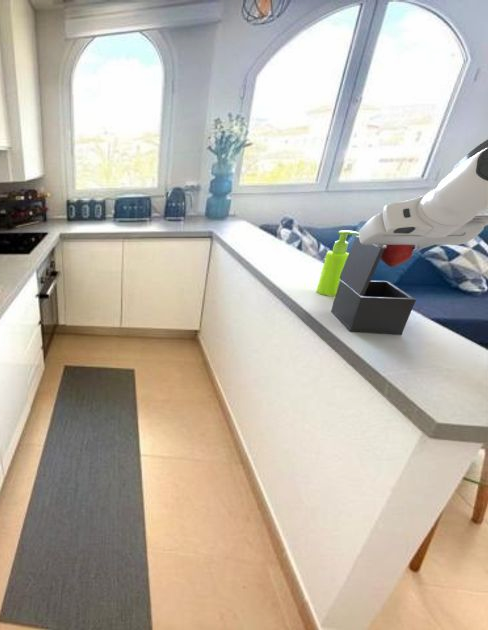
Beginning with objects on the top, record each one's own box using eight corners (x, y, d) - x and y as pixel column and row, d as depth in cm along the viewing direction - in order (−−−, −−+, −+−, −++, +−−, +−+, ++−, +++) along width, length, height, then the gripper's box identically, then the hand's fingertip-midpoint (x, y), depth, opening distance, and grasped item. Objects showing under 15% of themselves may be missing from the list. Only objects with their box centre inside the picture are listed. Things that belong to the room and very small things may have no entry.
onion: (383, 270, 84) (393, 238, 81) (371, 263, 89) (380, 232, 86) (412, 270, 83) (424, 237, 79) (398, 263, 88) (408, 231, 84)
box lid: (359, 236, 90) (356, 235, 90) (384, 249, 79) (380, 248, 80) (342, 278, 96) (338, 278, 96) (363, 296, 85) (359, 295, 85)
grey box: (376, 313, 97) (388, 281, 93) (401, 334, 86) (416, 299, 82) (330, 311, 100) (340, 279, 96) (349, 331, 89) (361, 297, 85)
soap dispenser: (339, 298, 107) (359, 234, 99) (314, 292, 112) (330, 231, 104) (344, 292, 111) (363, 230, 102) (319, 287, 116) (335, 228, 107)
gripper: (498, 201, 70) (446, 237, 83) (377, 204, 76) (346, 237, 88) (505, 227, 68) (451, 260, 81) (381, 229, 74) (348, 259, 86)
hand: (395, 248), depth 85 cm, fingers closed on onion, 6 cm apart
